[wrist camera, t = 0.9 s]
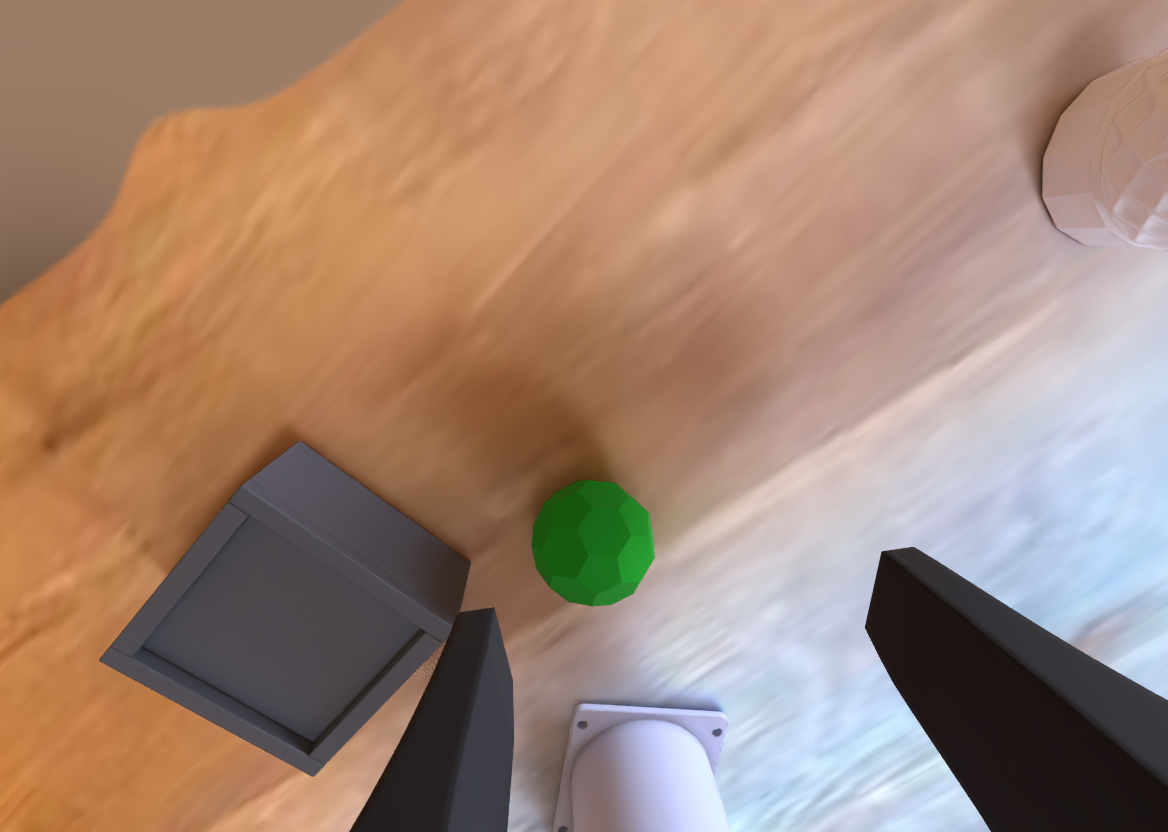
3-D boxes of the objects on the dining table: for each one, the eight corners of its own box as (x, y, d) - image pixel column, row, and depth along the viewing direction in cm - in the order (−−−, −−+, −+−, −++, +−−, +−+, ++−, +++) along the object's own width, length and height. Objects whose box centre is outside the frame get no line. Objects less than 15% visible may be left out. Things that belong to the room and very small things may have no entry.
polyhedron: (523, 473, 23) (519, 526, 19) (634, 452, 24) (657, 499, 19) (545, 572, 25) (546, 643, 20) (650, 552, 25) (674, 618, 20)
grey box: (471, 562, 25) (456, 629, 20) (352, 689, 26) (313, 778, 22) (299, 439, 22) (241, 485, 18) (179, 586, 24) (97, 660, 19)
